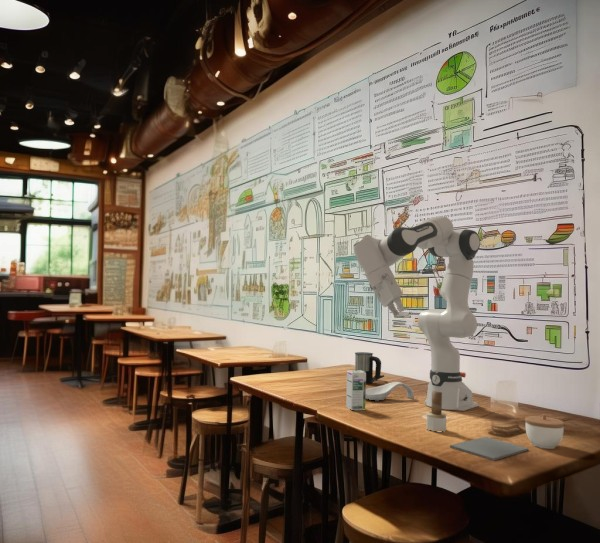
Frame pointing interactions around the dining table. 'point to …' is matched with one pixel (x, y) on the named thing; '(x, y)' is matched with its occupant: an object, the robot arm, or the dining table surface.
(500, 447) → the mat
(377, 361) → the milk frother
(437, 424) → the white octagonal base
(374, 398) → the spoon rest
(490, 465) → the dining table surface
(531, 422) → the lidded jar
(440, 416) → the brown peg on disc
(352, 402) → the syrup box
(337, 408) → the dining table surface
